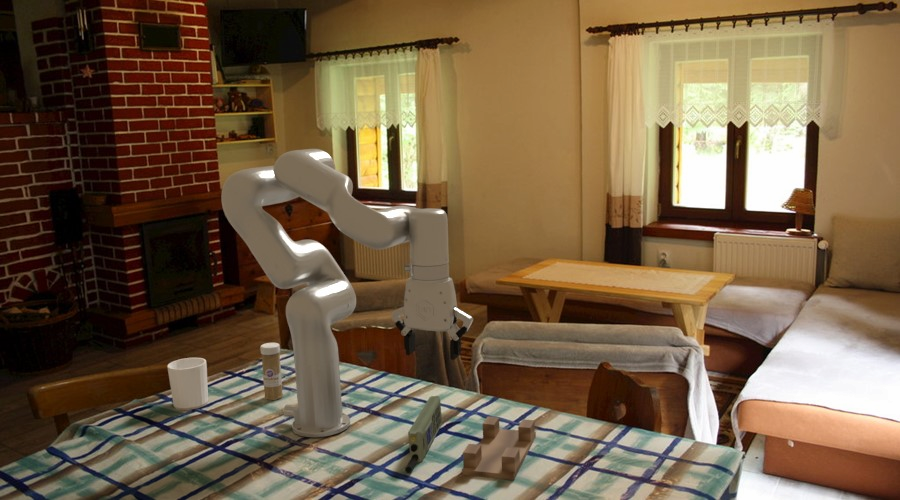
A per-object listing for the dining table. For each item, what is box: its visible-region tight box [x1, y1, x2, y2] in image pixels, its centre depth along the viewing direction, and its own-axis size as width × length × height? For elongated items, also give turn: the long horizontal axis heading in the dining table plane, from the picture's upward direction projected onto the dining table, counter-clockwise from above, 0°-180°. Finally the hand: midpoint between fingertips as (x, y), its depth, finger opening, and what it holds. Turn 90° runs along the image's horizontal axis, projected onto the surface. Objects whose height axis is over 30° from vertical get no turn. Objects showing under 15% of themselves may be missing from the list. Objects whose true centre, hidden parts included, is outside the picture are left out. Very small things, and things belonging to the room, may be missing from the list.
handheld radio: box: [404, 395, 443, 474], centre depth 159 cm, size 7×3×25 cm
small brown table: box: [461, 415, 537, 481], centre depth 155 cm, size 10×20×4 cm, turn 162°
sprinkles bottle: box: [259, 342, 284, 401], centre depth 191 cm, size 5×5×13 cm
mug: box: [166, 357, 209, 411], centre depth 189 cm, size 11×9×10 cm
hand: (432, 355), depth 156 cm, fingers open, 9 cm apart
